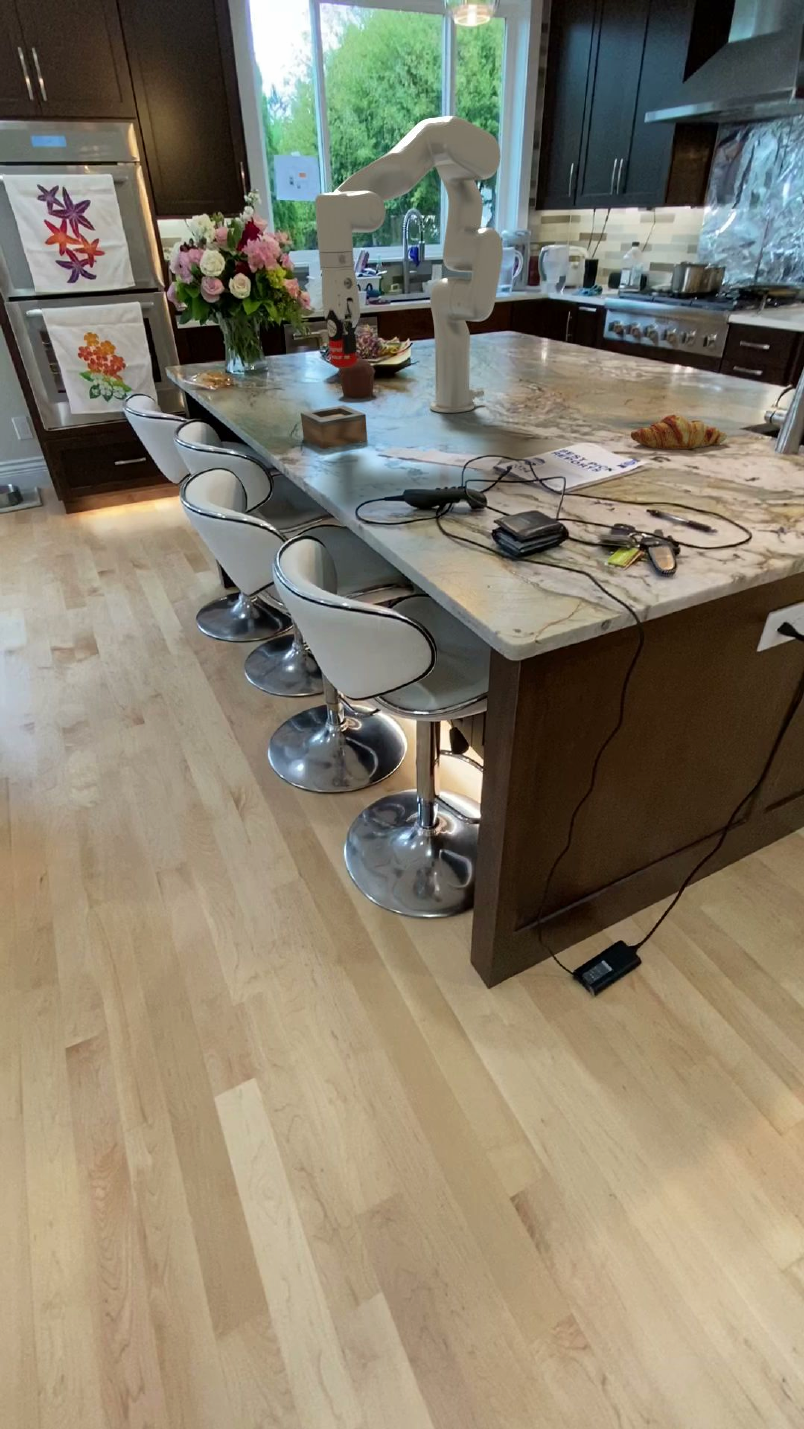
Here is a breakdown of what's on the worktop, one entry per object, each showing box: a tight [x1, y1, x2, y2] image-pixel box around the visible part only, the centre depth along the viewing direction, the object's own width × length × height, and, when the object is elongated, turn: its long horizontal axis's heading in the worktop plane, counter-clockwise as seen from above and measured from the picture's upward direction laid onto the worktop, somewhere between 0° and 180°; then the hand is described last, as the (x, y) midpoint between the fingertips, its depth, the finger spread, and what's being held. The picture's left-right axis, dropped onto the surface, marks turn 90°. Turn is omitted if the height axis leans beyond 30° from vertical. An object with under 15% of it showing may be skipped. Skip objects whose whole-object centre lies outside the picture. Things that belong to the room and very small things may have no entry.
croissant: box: [630, 414, 727, 450], centre depth 166 cm, size 21×10×8 cm, turn 85°
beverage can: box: [326, 309, 358, 368], centre depth 168 cm, size 6×6×12 cm
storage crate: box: [300, 404, 368, 450], centre depth 180 cm, size 12×12×6 cm
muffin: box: [337, 357, 376, 399], centre depth 220 cm, size 12×11×10 cm
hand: (342, 350), depth 170 cm, fingers closed on beverage can, 6 cm apart
